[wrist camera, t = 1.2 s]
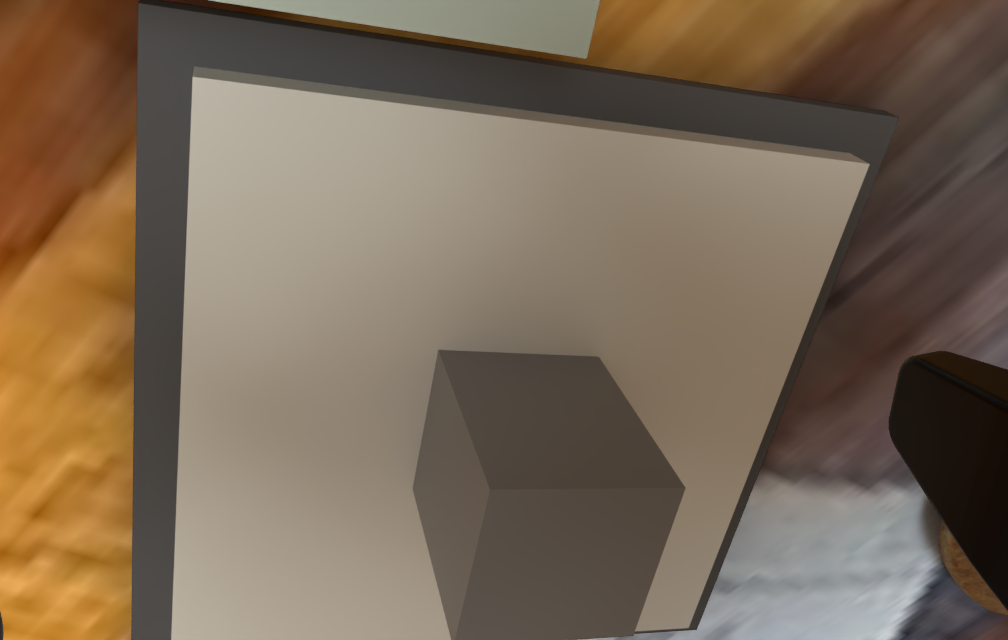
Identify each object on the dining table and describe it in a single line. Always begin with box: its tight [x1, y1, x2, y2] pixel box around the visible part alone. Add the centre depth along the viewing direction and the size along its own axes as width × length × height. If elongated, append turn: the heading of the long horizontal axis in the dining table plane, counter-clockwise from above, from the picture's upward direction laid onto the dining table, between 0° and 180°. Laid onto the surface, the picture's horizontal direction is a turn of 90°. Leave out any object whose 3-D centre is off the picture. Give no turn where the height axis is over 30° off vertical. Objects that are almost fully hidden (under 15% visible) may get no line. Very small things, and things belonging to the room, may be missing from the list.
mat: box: [131, 0, 899, 640], centre depth 23 cm, size 17×17×1 cm
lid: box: [171, 66, 870, 640], centre depth 20 cm, size 15×15×6 cm
